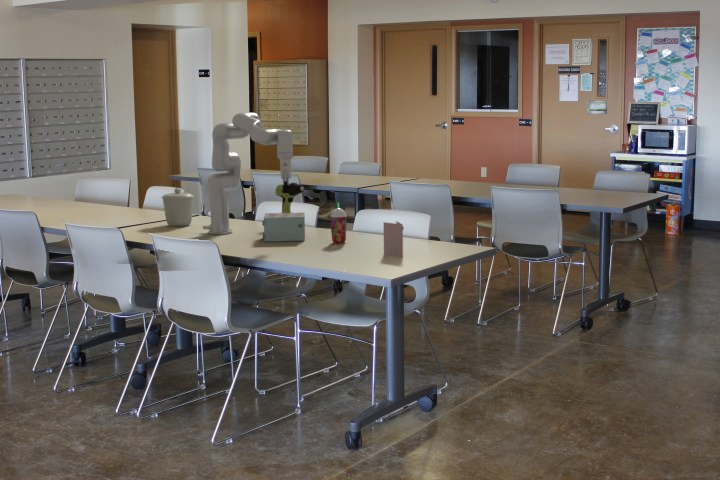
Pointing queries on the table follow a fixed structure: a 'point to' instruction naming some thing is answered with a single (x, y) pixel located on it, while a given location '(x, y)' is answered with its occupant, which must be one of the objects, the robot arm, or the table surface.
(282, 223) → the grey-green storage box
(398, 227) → the greeting card
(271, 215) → the cabinet
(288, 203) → the cordless drill
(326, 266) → the table surface
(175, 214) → the canister
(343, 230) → the smoothie
